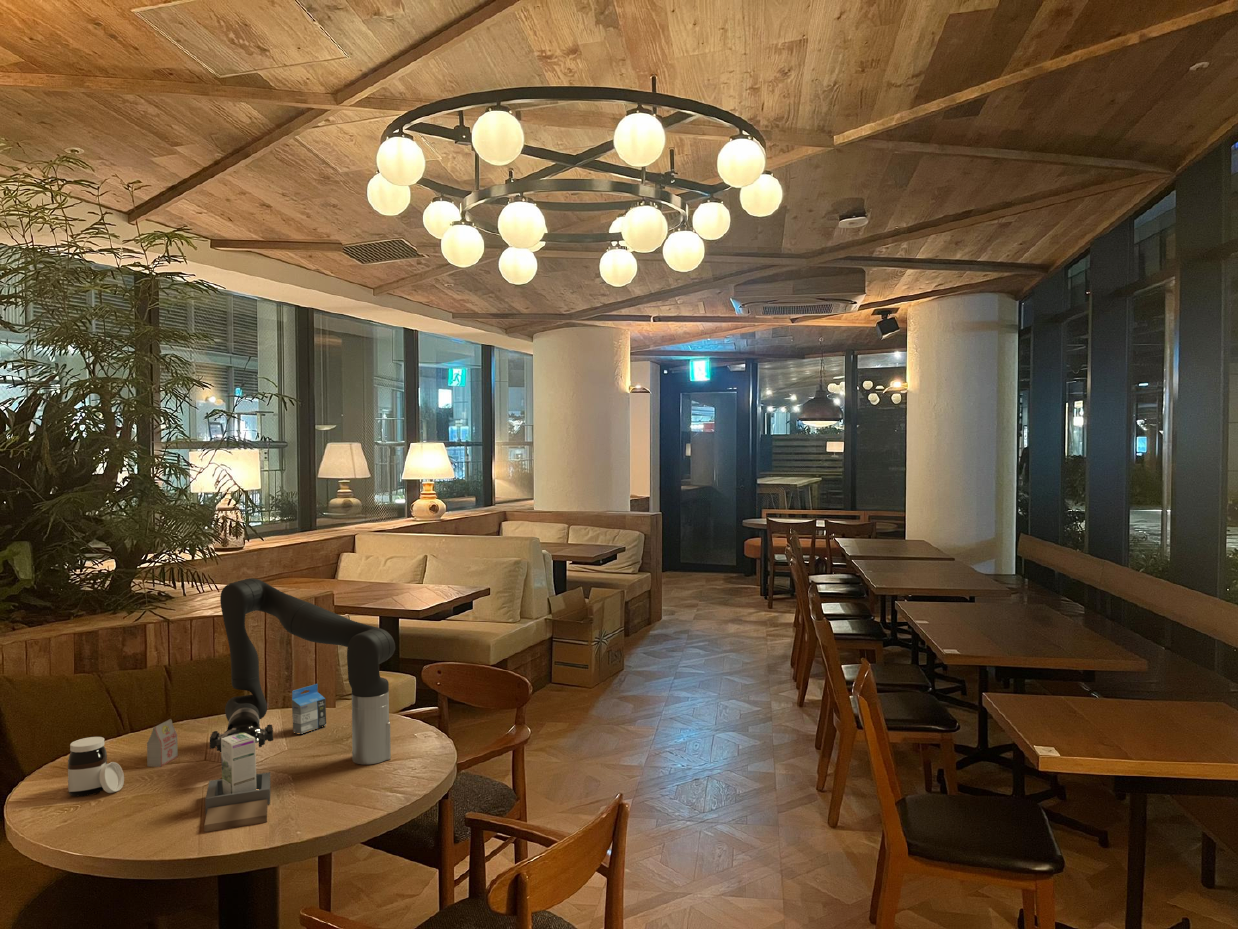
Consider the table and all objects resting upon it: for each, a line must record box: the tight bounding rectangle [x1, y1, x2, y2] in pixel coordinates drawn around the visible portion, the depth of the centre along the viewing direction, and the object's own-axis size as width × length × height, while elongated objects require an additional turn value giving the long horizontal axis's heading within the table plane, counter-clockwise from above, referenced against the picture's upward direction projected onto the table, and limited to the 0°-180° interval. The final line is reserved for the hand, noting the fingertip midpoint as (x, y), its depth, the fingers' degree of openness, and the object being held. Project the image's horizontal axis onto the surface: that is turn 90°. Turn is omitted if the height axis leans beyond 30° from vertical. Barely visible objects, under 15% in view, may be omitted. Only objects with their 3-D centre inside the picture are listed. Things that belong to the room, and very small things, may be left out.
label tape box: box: [291, 683, 327, 735], centre depth 235 cm, size 9×4×12 cm, turn 149°
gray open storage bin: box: [204, 771, 271, 815], centre depth 187 cm, size 13×11×4 cm
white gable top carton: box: [146, 718, 179, 768], centre depth 211 cm, size 4×7×10 cm, turn 175°
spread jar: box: [67, 736, 125, 797], centre depth 193 cm, size 12×11×12 cm
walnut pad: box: [203, 799, 268, 833], centre depth 177 cm, size 12×9×2 cm
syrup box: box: [220, 733, 257, 795], centre depth 187 cm, size 6×6×14 cm
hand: (240, 745), depth 197 cm, fingers open, 8 cm apart
